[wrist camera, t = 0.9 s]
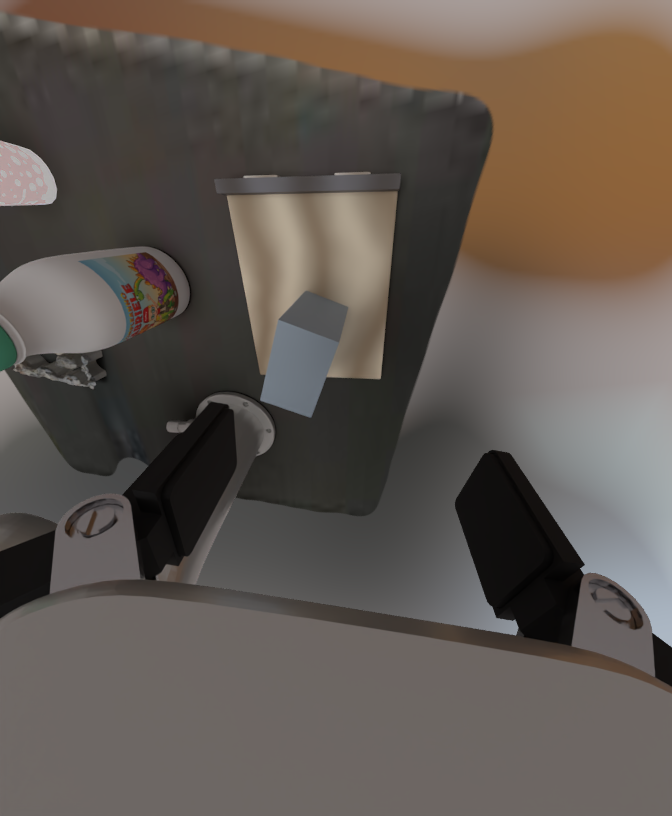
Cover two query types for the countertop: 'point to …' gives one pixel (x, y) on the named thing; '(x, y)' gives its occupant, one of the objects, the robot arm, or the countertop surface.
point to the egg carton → (65, 368)
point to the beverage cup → (24, 177)
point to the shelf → (317, 255)
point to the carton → (303, 353)
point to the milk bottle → (87, 301)
